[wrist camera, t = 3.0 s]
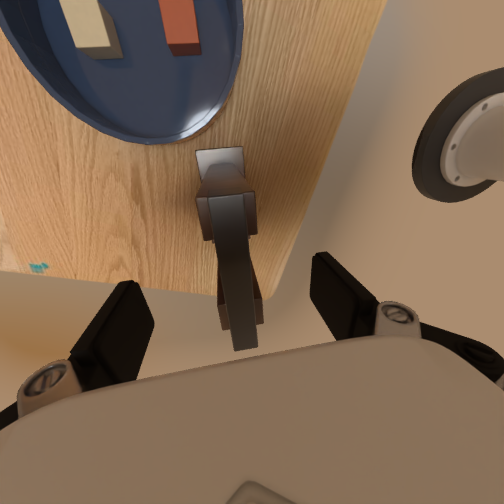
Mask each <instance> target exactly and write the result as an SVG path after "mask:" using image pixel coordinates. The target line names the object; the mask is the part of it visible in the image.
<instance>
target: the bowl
mask: <svg viewBox="0 0 504 504" xmlns="http://www.w3.org/2000/svg"><path fill="white" fill-rule="evenodd" d="M98 1H99V3H100V4H101V5H102V6H103V7H104V9H105V10H106V11H107V12H108V13H109V14H110V16H111V17H112V18H113V22H114V25H115V29H116V32H117V36H118V39H119V43H120V47H121V50H122V54H123V58H119V59H97V60H94V59H92V58H91V57H89V56H88V55H86V54H85V53H83V52H82V51H81V50H79V49H78V48H76V46H75V43H74V40H73V37H72V35H71V32H70V29H69V26H68V24H67V21H66V18H65V15H64V12H63V10H62V7H61V4H60V1H59V0H0V27H1V29H2V31H3V32H4V34H5V36H6V38H7V39H8V41H9V42H10V44H11V45H12V47H13V48H14V50H15V51H16V53H17V54H18V56H19V57H20V59H21V60H22V62H23V63H24V65H25V66H26V67H27V69H28V70H29V71H30V72H31V74H32V75H33V76H34V77H35V78H36V79H37V80H38V81H39V83H40V84H41V85H42V86H43V87H44V88H45V89H46V91H47V92H48V93H49V94H50V95H51V96H52V97H53V98H54V99H55V100H57V101H58V102H59V103H60V104H61V105H63V106H64V107H65V108H66V109H67V110H68V111H70V112H71V113H72V114H73V115H74V116H76V117H77V118H79V119H80V120H82V121H83V122H85V123H87V124H88V125H90V126H92V127H93V128H95V129H97V130H98V131H100V132H102V133H105V134H107V135H110V136H112V137H115V138H118V139H120V140H123V141H126V142H132V143H138V144H145V145H168V144H178V143H182V142H185V141H188V140H190V139H193V138H195V137H197V136H198V135H200V134H201V133H203V132H204V131H206V130H207V129H208V128H209V127H210V126H211V125H212V124H213V123H214V122H215V121H216V120H217V118H218V117H219V116H220V115H221V113H222V111H223V109H224V108H225V106H226V104H227V102H228V100H229V98H230V96H231V93H232V89H233V86H234V82H235V78H236V75H237V71H238V67H239V63H240V59H241V51H242V41H243V30H244V19H243V4H242V0H193V1H194V7H195V13H196V19H197V26H198V33H199V40H200V47H201V55H187V56H173V54H172V52H171V50H170V48H169V46H168V44H167V41H166V36H165V31H164V26H163V21H162V16H161V11H160V6H159V1H158V0H98Z"/></svg>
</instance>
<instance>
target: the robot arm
mask: <svg viewBox="0 0 504 504" xmlns="http://www.w3.org/2000/svg"><path fill="white" fill-rule="evenodd" d="M440 169H441V173H442V175H443V178H444V179H445V180H446V181H447V182H448V183H450V184H452V185H456V186H463V187H466V186H472V185H476V184H478V183H481V182H483V181H485V180H486V179H489V180H497V181H504V92H503V93H497V94H494V95H490V96H487V97H486V98H484V99H482V100H480V101H478V102H477V103H476V104H474V105H473V106H471V107H470V108H469V109H468V110H467V111H466V112H465V113H464V114H463V115H462V116H461V117H460V119H459V120H458V121H457V122H456V123H455V125H454V126H453V128H452V129H451V131H450V133H449V135H448V137H447V139H446V140H445V143H444V146H443V149H442V153H441V157H440ZM310 298H311V300H312V302H313V304H314V305H315V307H316V309H317V310H318V312H319V313H320V315H321V316H322V318H323V320H324V321H325V323H326V325H327V326H328V328H329V329H330V331H331V333H332V334H333V336H334V338H335V339H336V341H334V342H328V343H323V344H317V345H312V346H306V347H301V348H296V349H291V350H285V351H280V352H275V353H269V354H265V355H260V356H254V357H249V358H244V359H239V360H234V361H229V362H224V363H219V364H213V365H208V366H203V367H198V368H193V369H188V370H184V371H178V372H174V373H169V374H164V375H159V376H154V377H149V378H144V379H139V380H136V379H137V376H138V373H139V370H140V366H141V364H142V361H143V358H144V355H145V352H146V349H147V346H148V343H149V340H150V337H151V334H152V331H153V329H154V319H153V317H152V314H151V312H150V310H149V307H148V305H147V302H146V300H145V298H144V295H143V293H142V291H141V288H140V286H139V284H138V283H137V282H134V281H133V280H129V281H122V282H119V283H118V285H117V286H116V287H115V289H114V290H113V292H112V293H111V294H110V296H109V297H108V299H107V300H106V301H105V303H104V304H103V306H102V307H101V309H100V310H99V312H98V313H97V314H96V316H95V317H94V318H93V320H92V321H91V323H90V324H89V325H88V327H87V329H86V330H85V331H84V333H83V334H82V335H81V337H80V338H79V340H78V341H77V343H76V344H75V345H74V347H73V348H72V350H71V351H70V353H71V355H70V357H69V358H68V359H67V360H65V359H63V360H57V361H54V362H51V363H49V364H47V365H45V366H43V367H42V368H40V369H39V370H37V371H35V372H34V373H33V374H32V375H31V376H29V377H28V378H27V379H26V381H25V382H24V383H23V384H22V385H21V387H20V389H19V390H18V393H17V401H16V402H15V403H13V404H12V405H10V406H9V407H7V408H6V409H4V410H3V411H2V412H0V504H504V359H503V358H502V357H501V356H500V355H499V354H498V353H497V352H496V351H495V350H493V349H492V348H490V347H489V346H487V345H485V344H483V343H481V342H479V341H476V340H473V339H470V338H467V337H464V336H461V335H458V334H455V333H452V332H449V331H445V330H443V329H440V328H437V327H434V326H431V325H427V324H425V323H421V322H419V318H418V315H417V314H416V313H415V312H414V311H413V310H412V309H411V308H409V307H407V306H405V305H404V304H401V303H398V302H393V301H384V302H381V303H379V302H378V301H377V300H376V297H375V296H373V295H372V294H371V293H370V292H369V291H368V290H367V289H366V288H365V287H364V286H363V285H362V284H361V283H360V282H359V281H357V279H356V278H354V277H353V276H352V275H351V274H350V273H349V272H348V271H347V270H346V269H345V268H344V267H343V266H342V265H341V264H340V263H339V262H338V261H337V260H336V259H334V258H333V257H332V256H331V255H330V254H329V253H328V252H319V253H316V254H315V256H313V258H312V269H311V284H310Z"/></svg>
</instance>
